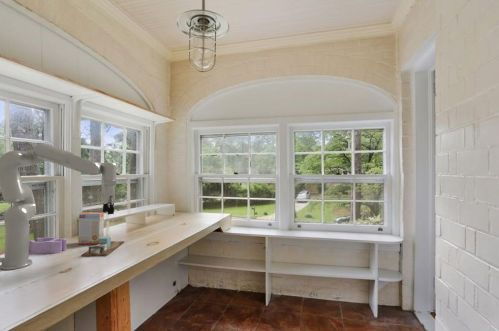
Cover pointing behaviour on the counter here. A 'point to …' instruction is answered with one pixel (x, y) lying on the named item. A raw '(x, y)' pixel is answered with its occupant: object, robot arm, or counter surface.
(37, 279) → the counter surface
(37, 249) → the purple piece
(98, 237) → the cracker box
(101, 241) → the stub
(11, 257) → the robot arm
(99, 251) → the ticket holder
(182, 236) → the counter surface
